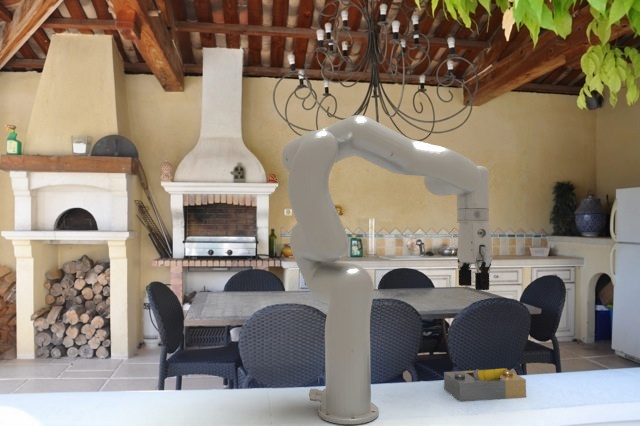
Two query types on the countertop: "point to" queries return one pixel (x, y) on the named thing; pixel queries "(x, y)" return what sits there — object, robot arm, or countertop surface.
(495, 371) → the yellow tiered cone
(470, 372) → the metal strike plate
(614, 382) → the countertop surface
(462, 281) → the robot arm
